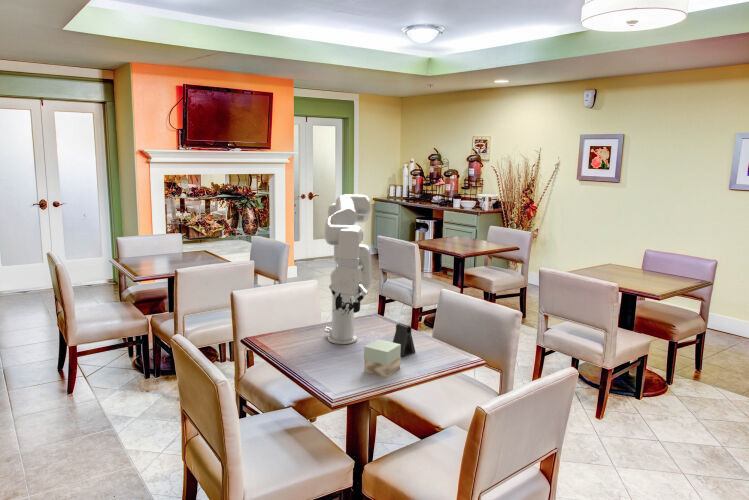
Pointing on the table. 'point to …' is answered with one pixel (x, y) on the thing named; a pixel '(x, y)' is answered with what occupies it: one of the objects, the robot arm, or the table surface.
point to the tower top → (382, 351)
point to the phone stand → (404, 339)
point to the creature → (345, 307)
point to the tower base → (382, 367)
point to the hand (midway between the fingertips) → (347, 309)
